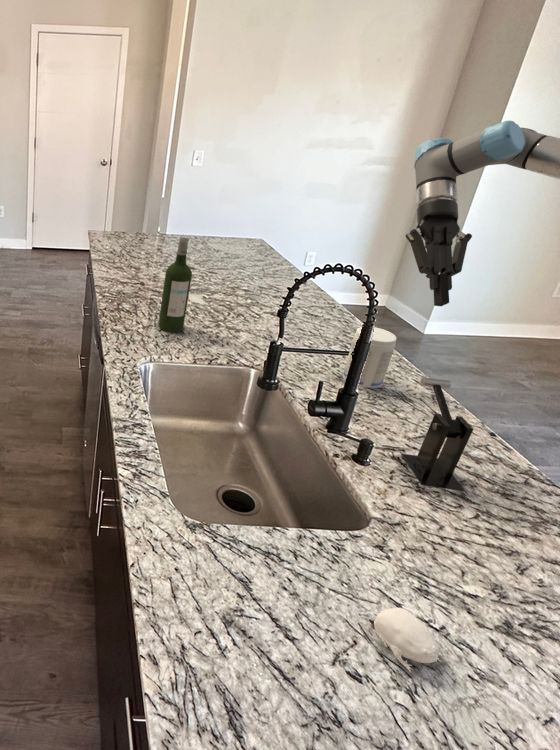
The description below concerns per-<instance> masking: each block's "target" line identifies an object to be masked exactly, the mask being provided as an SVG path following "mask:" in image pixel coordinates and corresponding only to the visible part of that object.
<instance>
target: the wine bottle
mask: <svg viewBox="0 0 560 750" xmlns="http://www.w3.org/2000/svg"><path fill="white" fill-rule="evenodd" d="M189 240H190V238H189V236H188V235H180V236H179V239H178V244H177V245H178V246H177V251H176V256H175V261H174V262H172V263H171V264H170V265H169V266H168V267H167V268H166V269H165V275H164V281H163V289H162V296H161V304H160V310H159V318H158V327H159V329H161V330H162V331H165V332H169V333H178V332H179V333H180V332H181V331H182V330H183V329H184V324H185V319H186V312H187V306H188V302H189V295H190V294H189V293H190V289H191V283H192V278H193V277H192V276H193V273H192V269H191V267H190V266H189V265H188V264H187V256H188V255H187V254H188V247H189Z"/></svg>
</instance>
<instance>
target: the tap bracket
mask: <svg viewBox="0 0 560 750" xmlns="http://www.w3.org/2000/svg"><path fill="white" fill-rule="evenodd" d="M454 420H458V423H459V425H460V428H461V431H462V433H461V434H460V435H459V436H457V437H456V438H449V437H446V436H447V434H448V432H449V429H450V427H451V426H450V425H449V424H448V423H447V421H446V420H445V419H444V418H443V417H442V414H441V413H434V415H433V417H432V420H431V422H430V424H429V427H428V429H427V431H426V434H425V436H424V439H423V440H422V443H421V446H420V448H419V451H418V452H417V455H416V454H408V453H400V455H401V457H402V458H403V459H404V461H405V463H406V464H407V466H408V467H409V469H410V470H411V472H412V473H413V475H414V476H415V478H416V480H417V481H418V482H419V483H420V485H421V486H426V487H432V488H439V489H447V490H455V491H461V492H465V491H466V490H465V489H464V487H463V486H462V485H461V483H460V482H459V480H458V479H457V478H456V477H455V476H454V475H455V474H454V473H455V470H456V468H457V466H458V464H459V462H460V460H461V456H462V455H463V453H464V452H465V449H466V446H467V444H468V442H469V440H470V438H471V436H472V434H473V431H474V428H473V427H472V425H470V424H469V422H468V421H467V420H466V419H465V418H464V417H463V416H461V415H457V416H456V417H455V419H454Z"/></svg>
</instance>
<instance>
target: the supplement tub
mask: <svg viewBox="0 0 560 750" xmlns="http://www.w3.org/2000/svg"><path fill="white" fill-rule="evenodd" d="M362 327H363V326H360V327H358V328H357V329H356V330H355V333H354V337H353V339H352V342H351V345H350V348H349V353H348V356H347V359H346V362H345V366H344V369H343V371H342V372H343V373H342V378H343V380H344V381H345V378H346V376H347V372H348V369H349V366H350V363H351V359H352V355H351V353H352V351H353V349H354V348H355V345H356V342H357V340H358V338H359V336H360V333H361V329H362ZM373 327H374V332H373V338H372V342H371V345H370V350H369V354H368V358H367V360H366V363H365V366H364V369H363V372H362V375H361V379H360V383H359V386H358V387H363V388H369V389H377V388H381V387H382V386H383V384H384V381H385V378H386V374H387V372H388V368H389V366H390V363H391V360H392V357H393V354H394V351H395V348H396V344H397V340H398V339H397V338H398V337H397V336H396V335H395V334H394V333H393V332H390V331H388V330H386V329H383V328H380V327H375V326H373Z"/></svg>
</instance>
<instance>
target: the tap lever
mask: <svg viewBox="0 0 560 750" xmlns="http://www.w3.org/2000/svg"><path fill="white" fill-rule="evenodd" d="M420 385H421V386H422V387H429V388H432V390H433V393H434V396H435V398H436V402H437V404H438V408H439V411H440V414H441V415H442V417H443V418H444V419H445V420H446V421H447V423H448V424H449V425H450V426H451V427H450V429H449V432H448V434H447V436H446V438H447V437H449V438H456V437H457V436H459V435H460V434H461V433H462V431H461V428H460V425H459V423H458V420H455V419H453V418H452V415H451V412H450V409H449V406H448V403H447V401H446V397H445V394H444V392H443V389H448V390H449V389H450V388H451V386H452V382H451V380H449V379H441V378H432V377H421V378H420Z"/></svg>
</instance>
